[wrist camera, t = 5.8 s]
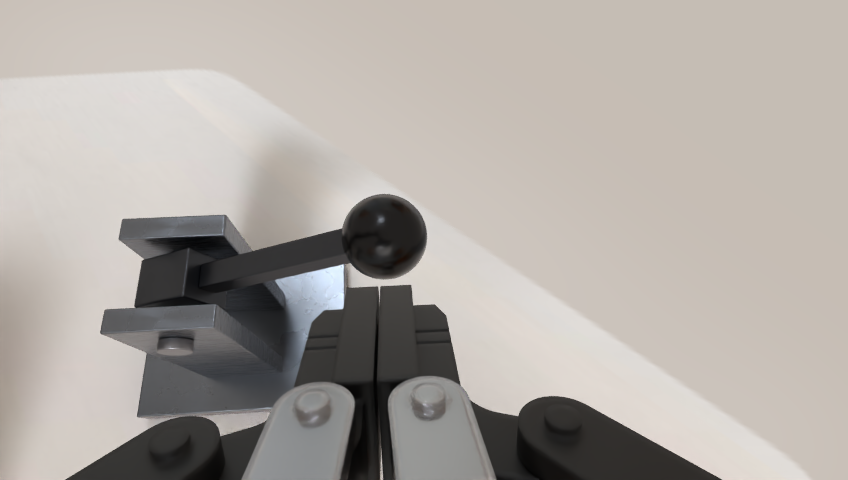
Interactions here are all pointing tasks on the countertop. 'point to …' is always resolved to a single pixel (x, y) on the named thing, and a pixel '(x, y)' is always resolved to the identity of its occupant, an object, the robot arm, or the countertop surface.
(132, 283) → the countertop surface
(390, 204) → the tap lever
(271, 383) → the bracket
